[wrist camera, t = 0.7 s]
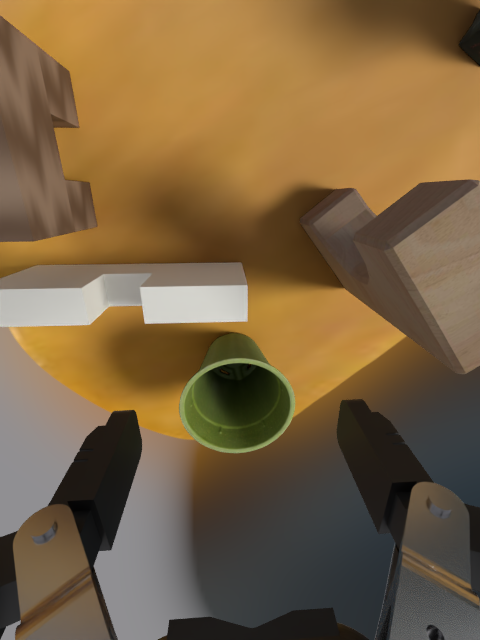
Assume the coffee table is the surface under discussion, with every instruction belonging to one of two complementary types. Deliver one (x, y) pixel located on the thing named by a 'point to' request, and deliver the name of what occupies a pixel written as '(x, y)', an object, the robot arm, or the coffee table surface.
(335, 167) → the coffee table surface
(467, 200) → the decorative block
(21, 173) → the walnut notched plate
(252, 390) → the plant pot
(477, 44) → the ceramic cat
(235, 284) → the white notched plate
